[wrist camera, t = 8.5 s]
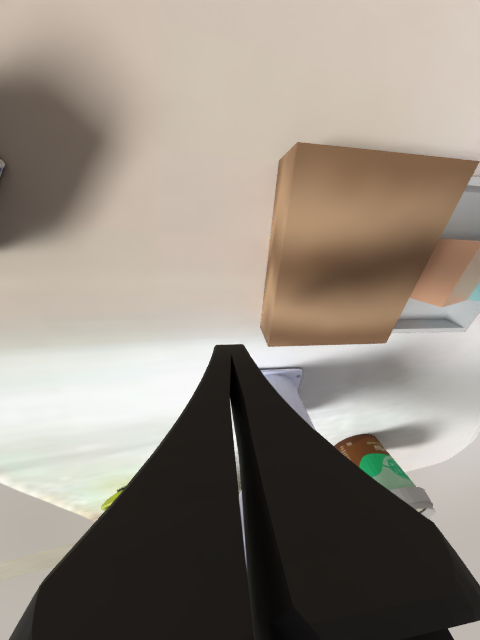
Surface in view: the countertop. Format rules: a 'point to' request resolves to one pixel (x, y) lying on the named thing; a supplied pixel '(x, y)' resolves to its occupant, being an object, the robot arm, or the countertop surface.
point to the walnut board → (352, 240)
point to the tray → (419, 317)
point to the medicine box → (1, 166)
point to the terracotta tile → (449, 273)
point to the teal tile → (475, 294)
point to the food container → (385, 470)
